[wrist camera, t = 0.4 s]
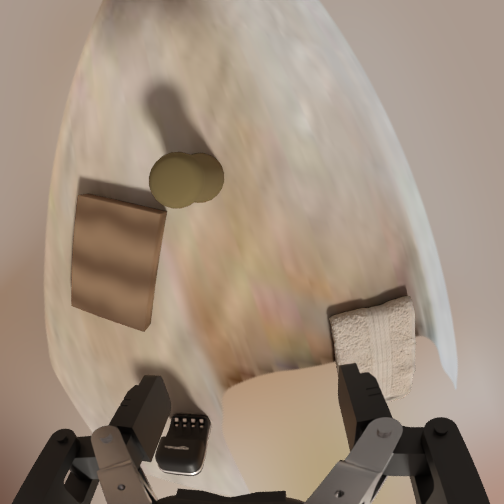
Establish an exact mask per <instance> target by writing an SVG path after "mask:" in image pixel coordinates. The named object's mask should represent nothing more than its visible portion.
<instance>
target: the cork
mask: <svg viewBox="0 0 504 504" xmlns="http://www.w3.org/2000/svg"><path fill="white" fill-rule="evenodd" d="M223 183H224V172H223V169H222V166H221V165H220V163H219V162H218V161H217V159H215V158H214V157H212V156H211V155H208V154H205V153H195V154H192V155H189V154H186V153H182V152H171V153H169V154H167V155H164V156H162V157H161V158H160V159H159V160H158V161H157V162H156V163H155V164H154V166H153V167H152V169H151V172H150V176H149V187H150V190H151V193H152V195H153V196H154V197H155V199H156V200H157V201H158V202H159V203H161V204H162V205H164V206H167V207H170V208H183V207H186V206H189V205H191V204H192V203H193V202H195V203H203V202H206V201H209V200H212V199H213V198H214V197H215V196H217V195H218V193H219V192H220V190H221V189H222V186H223Z"/></svg>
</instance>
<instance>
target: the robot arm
mask: <svg viewBox="0 0 504 504" xmlns="http://www.w3.org/2000/svg"><path fill="white" fill-rule="evenodd" d="M338 378H339V379H338V399H339V405H340V409H341V413H342V417H343V422H344V426H345V430H346V434H347V438H348V444H349V448H350V453H349V455H348V456H347V457H346V459H345V460H344V461H343V460H340V461H339V462H338V463H337V464H336V465H335V466H334V467H333V469H332V470H331V471H330V473H329V474H328V475H327V476H326V478H325V479H324V480H323V481H322V483H321V484H320V485H319V486H318V488H317V489H316V490H315V491H314V492H313V494H312V495H311V496H310V497H309V498H308V499H307V501H306V502H303V501H300V500H297V499H292V498H287V497H286V491H274V492H256V493H251V494H246V495H241V496H236V497H224V496H220V495H217V494H213V493H209V492H205V491H199V490H187V489H178V491H177V494H176V495H175V496H169V497H165V498H162V499H159V500H158V499H157V497H156V495H155V493H154V492H153V490H152V488H151V486H150V484H149V482H148V480H147V478H146V476H145V474H144V472H143V470H142V468H141V467H140V464H141V462H142V461H147V462H151V461H152V458H153V456H154V453H155V450H156V448H157V445H158V443H159V440H160V437H161V435H162V432H163V429H164V427H165V424H166V422H167V419H168V416H169V414H170V411H171V402H170V398H169V395H168V393H167V390H166V387H165V384H164V382H163V379H162V377H161V376H150V375H145V376H144V377H143V379H142V380H141V382H140V384H139V385H135V386H134V387H133V388H131V389H130V390H129V391H128V392H127V394H126V396H125V397H124V400H123V401H122V403H121V404H120V405H121V406H119V408H118V409H117V411H116V413H115V415H114V416H113V418H112V420H111V422H110V424H109V425H108V426H102V427H100V428H98V429H97V430H95V431H94V432H93V434H92V436H85V437H77V436H76V435H75V433H74V432H73V431H72V430H70V429H61V430H58V431H56V432H55V433H54V434H52V436H51V437H50V439H49V440H48V442H47V444H46V445H45V447H44V449H43V450H42V452H41V454H40V455H39V457H38V459H37V460H36V462H35V464H34V465H33V467H32V469H31V470H30V472H29V474H28V476H27V477H26V479H25V481H24V483H23V485H22V486H21V488H20V490H19V492H18V493H17V495H16V497H15V499H14V501H13V503H12V504H90V503H91V500H92V498H93V495H94V493H95V490H96V488H97V485H98V482H99V481H100V484H101V487H102V490H103V493H104V496H105V499H106V501H107V504H371V503H372V502H373V500H374V499H375V497H376V496H377V494H378V492H379V491H380V489H381V487H382V486H383V484H384V482H385V481H386V479H387V477H388V476H410V479H411V483H412V487H413V491H414V495H415V499H416V504H490V502H489V500H488V497H487V494H486V492H485V489H484V487H483V484H482V482H481V479H480V477H479V474H478V472H477V469H476V467H475V465H474V462H473V460H472V458H471V456H470V453H469V451H468V449H467V447H466V444H465V442H464V440H463V438H462V436H461V434H460V432H459V429H458V427H457V425H456V424H455V423H454V422H453V421H452V420H450V419H448V418H442V417H441V418H434V419H432V420H430V421H428V422H427V423H426V425H425V427H405V426H402V425H401V424H400V422H398V421H397V420H395V419H393V418H392V416H391V413H390V411H389V408H388V406H387V403H386V401H385V398H384V396H383V394H382V391H381V389H380V388H379V384H378V382H377V379H376V378H375V377H374V376H373V375H372V374H370V373H369V372H365V373H360V372H359V369H358V367H357V364H356V363H351V364H344V365H339V376H338ZM68 470H70V471H71V472H70V474H69V476H68V478H67V480H66V482H65V484H64V478H65V476H66V474H67V472H68Z"/></svg>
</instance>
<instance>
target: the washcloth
mask: <svg viewBox="0 0 504 504" xmlns="http://www.w3.org/2000/svg"><path fill="white" fill-rule="evenodd" d="M329 320H330V323H331V329H332V331H331V333H332V335H333V336H332V337H333V340H334V349H335V351H334V352H335V358H336V365H337V366H336V368H337V372H338V376H339V365H344V364H351V363H356V364H357V367H358V369H359V372H360V373H365V372H369V373H370V374H372V375H373V376H374V377H375V378H376V379H377V382H378V384H379V388H380V389H381V391H382V394H383V396H384V398H385V401H386V403H388V402H392V401H395V400H398V399H401V398H404V397H405V395H407V394H408V393H409V392H410V390H411V386H412V379H413V374H414V372H415V344H416V342H415V312H414V307H413V304H412V299H411V297H410V296H405V297H401V298H397V299H394V300H390V301H388V302H385V303H384V304H382V305H379V306H375V307H370V308H359V309H356V310H352V311H349V312H344V313H340V314H337V315H334V316H332V317H331V318H329Z"/></svg>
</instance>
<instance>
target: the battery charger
mask: <svg viewBox="0 0 504 504" xmlns="http://www.w3.org/2000/svg"><path fill="white" fill-rule="evenodd" d="M210 431H211V423H210V421H209V419H208V418H207V417H206V416H202V415H186V414H175V415H173V417H172V419H171V424H170V428H169V431H168V433H167V435H166V437H161V439H160V442H159V445H158V447H157V451H156V455H155V458H156V461H157V463H158V467H159V469H160V470H162V471H163V472H165V473H169V474H176V475H185V476H194V475H197V474H199V473H200V472H201V470H202V468H203V465H204V461H205V457H206V452H207V446H208V439H209V435H210Z"/></svg>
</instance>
